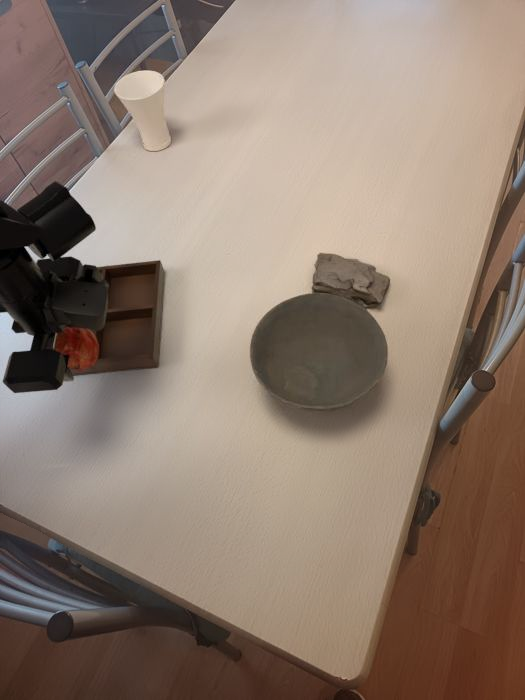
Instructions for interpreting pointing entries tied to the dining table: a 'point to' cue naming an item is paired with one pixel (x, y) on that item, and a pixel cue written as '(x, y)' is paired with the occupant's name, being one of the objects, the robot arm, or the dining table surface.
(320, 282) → the rock
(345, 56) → the dining table surface
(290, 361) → the bowl
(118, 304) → the four compartment tray
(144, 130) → the cup
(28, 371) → the robot arm
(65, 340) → the red round fruit
